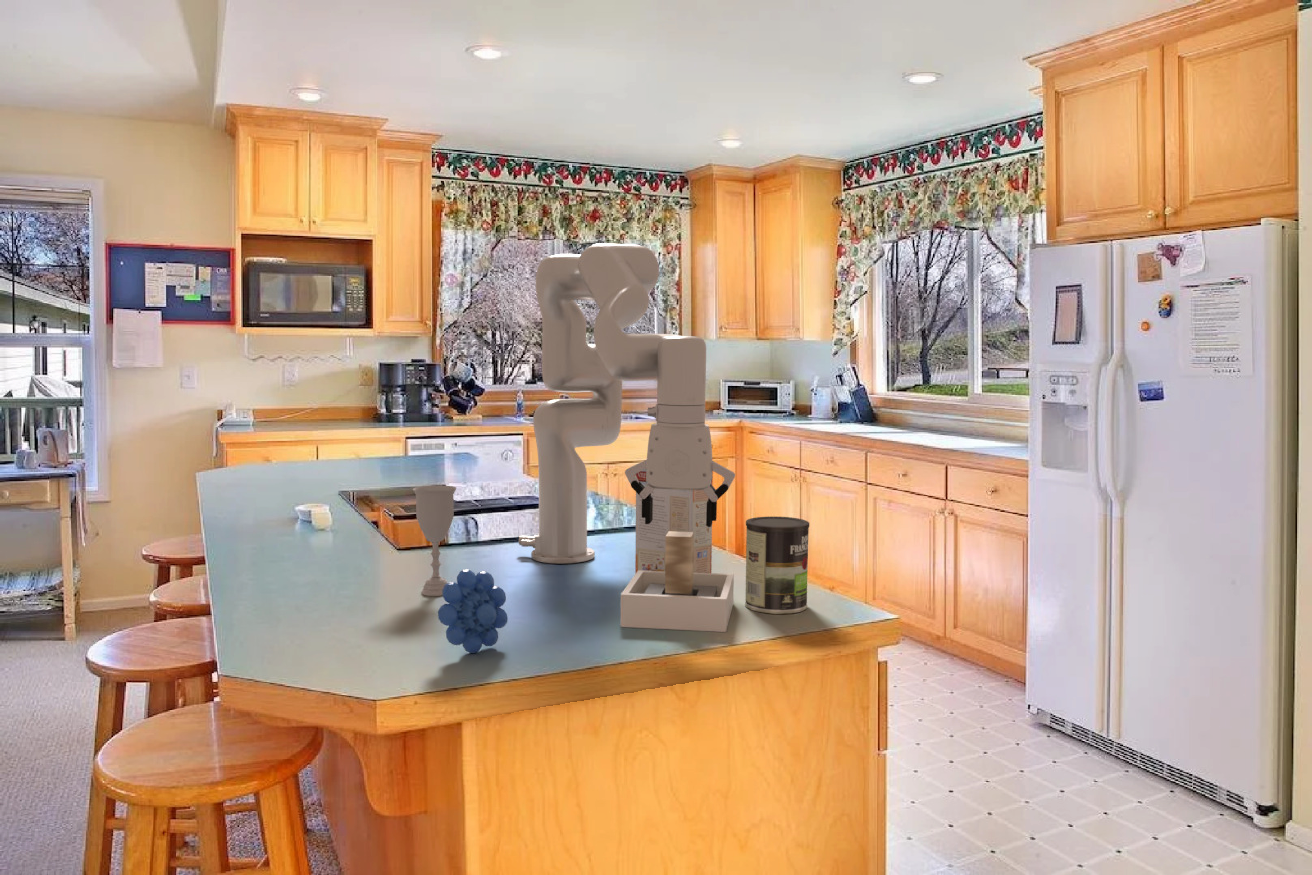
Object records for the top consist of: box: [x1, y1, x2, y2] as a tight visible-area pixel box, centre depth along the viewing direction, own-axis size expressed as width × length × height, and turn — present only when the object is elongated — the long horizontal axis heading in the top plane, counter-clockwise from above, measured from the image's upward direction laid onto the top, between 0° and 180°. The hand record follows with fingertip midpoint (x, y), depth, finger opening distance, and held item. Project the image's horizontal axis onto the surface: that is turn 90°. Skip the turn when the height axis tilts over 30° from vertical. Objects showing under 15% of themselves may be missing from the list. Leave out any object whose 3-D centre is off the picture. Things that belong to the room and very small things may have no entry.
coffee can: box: [744, 516, 810, 615], centre depth 160 cm, size 10×10×14 cm
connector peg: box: [665, 531, 694, 596], centre depth 155 cm, size 4×4×12 cm
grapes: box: [437, 569, 508, 654], centre depth 135 cm, size 12×7×12 cm, turn 139°
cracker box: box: [634, 469, 714, 575], centre depth 178 cm, size 14×6×21 cm, turn 47°
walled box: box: [620, 570, 735, 633], centre depth 155 cm, size 16×16×5 cm
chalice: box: [412, 485, 457, 597], centre depth 168 cm, size 7×7×18 cm
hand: (678, 523), depth 154 cm, fingers open, 9 cm apart
